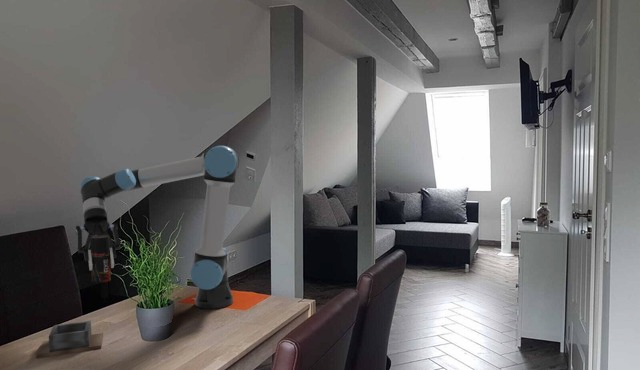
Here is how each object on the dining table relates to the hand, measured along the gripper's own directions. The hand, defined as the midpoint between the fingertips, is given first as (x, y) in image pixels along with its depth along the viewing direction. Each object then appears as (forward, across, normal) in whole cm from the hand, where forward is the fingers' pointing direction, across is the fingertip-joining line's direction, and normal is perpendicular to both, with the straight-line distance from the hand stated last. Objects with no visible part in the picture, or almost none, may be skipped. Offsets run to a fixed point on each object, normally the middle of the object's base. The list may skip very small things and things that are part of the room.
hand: (101, 266), depth 162 cm
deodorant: (+1, 0, -6) cm, 7 cm away
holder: (+19, +10, -16) cm, 26 cm away
